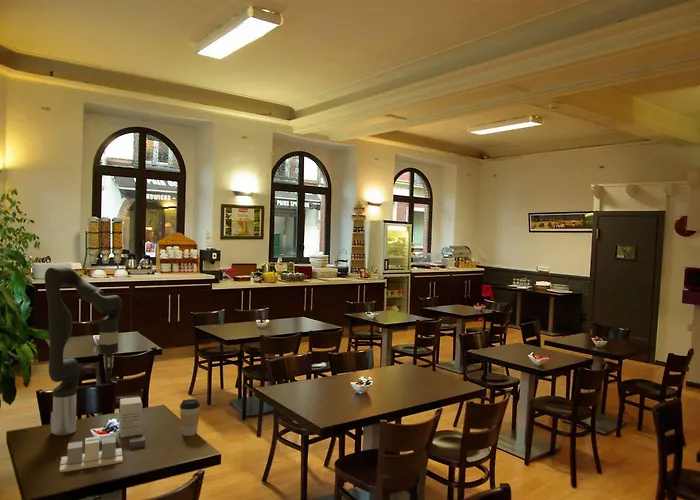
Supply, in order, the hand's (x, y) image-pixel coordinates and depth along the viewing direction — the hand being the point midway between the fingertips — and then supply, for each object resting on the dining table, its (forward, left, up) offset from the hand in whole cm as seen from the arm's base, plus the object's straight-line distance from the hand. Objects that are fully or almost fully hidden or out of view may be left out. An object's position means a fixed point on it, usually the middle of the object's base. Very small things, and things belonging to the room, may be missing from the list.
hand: (108, 381), depth 220 cm
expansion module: (+5, -17, -26) cm, 31 cm away
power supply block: (+14, 0, -27) cm, 31 cm away
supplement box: (+3, +12, -27) cm, 30 cm away
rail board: (+5, -17, -27) cm, 32 cm away
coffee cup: (+29, +18, -27) cm, 44 cm away
